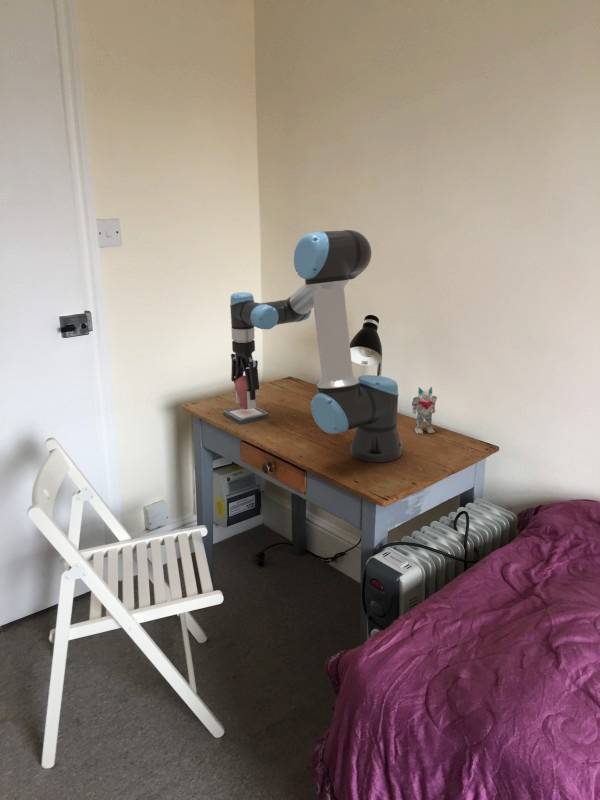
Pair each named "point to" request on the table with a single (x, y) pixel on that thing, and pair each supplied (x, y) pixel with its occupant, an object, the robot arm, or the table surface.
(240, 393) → the light bulb
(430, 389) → the figurine
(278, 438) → the table surface
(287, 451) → the table surface
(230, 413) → the holder
